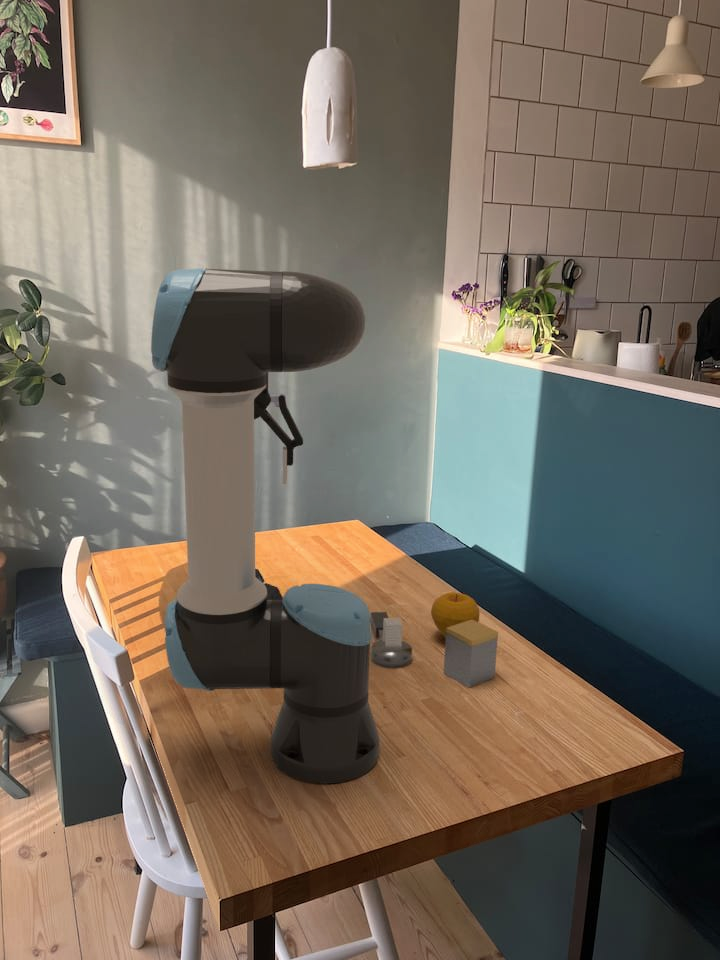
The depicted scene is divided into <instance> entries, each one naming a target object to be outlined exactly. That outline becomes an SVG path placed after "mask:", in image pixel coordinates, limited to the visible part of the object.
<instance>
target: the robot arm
mask: <svg viewBox="0 0 720 960" xmlns="http://www.w3.org/2000/svg"><path fill="white" fill-rule="evenodd" d="M365 326H366V316H365V311H364V307H363V305H362V303H361V301H360V300H359V298H358V297H357V296H356V295H355V294H354V293H353V292H352V291H351V290H350V289H348V288H347V287H346V286H344V285H342V284H340V283H338V282H335V281H333V280H330V279H327V278H323V277H321V276H318V275H314V274H309V273H304V272H299V271H286V270H283V271H272V270H271V271H270V270H269V271H267V270H248V269H247V270H246V269H245V270H244V269H242V270H241V269H225V268H224V269H222V268H220V269H218V268H217V269H216V268H207V267H202V268H190V269H189V268H187V269H175V270H172V271H170V272H168V273H167V274H166V275H165V276H164V277H163V279H162V281H161V283H160V286H159V288H158V292H157V296H156V300H155V305H154V312H153V319H152V328H151V343H150V344H151V345H150V346H151V347H150V351H151V352H150V353H151V363H152V366H153V368H154V369H156V370H158V371H160V372H165V371H166V374H167V386H168V389H169V390H170V391H172V392H173V394H175V395H176V397H178V398H179V400H180V401H181V416H182V417H181V420H182V442H183V443H182V444H183V445H182V446H183V466H184V467H183V469H184V470H183V471H184V473H183V474H184V495H185V496H184V498H185V499H184V500H185V501H184V503H185V504H184V505H185V524H186V525H185V526H186V551H187V552H186V553H187V554H186V555H187V580H186V581H185V582H184V583H183V584H181V586H180V587H179V588H178V590H177V593H176V599H174V600H171V601H170V602H169V603H168V605H167V606H166V610H165V617H164V632H165V637H164V640H165V641H164V642H165V643H164V644H165V650H166V651H165V652H166V657H167V664H168V667H169V670H170V674H171V676H172V678H173V680H174V681H175V682H176V684H178V685H179V686H180V687H182V688H184V689H190V690H192V689H193V690H206V691H208V692H213V691H215V690H250V689H251V690H256V689H258V690H260V689H264V690H265V689H267V690H268V689H270V690H272V689H283V698H282V699H283V700H282V703H281V706H280V709H279V712H278V715H277V718H276V720H275V723H274V726H273V729H272V732H271V735H270V758H271V761H272V762H273V764H274V765H275V766H276V768H277V769H279V771H281V772H282V773H283V774H286V775H287V776H289V777H290V778H294V779H297V780H299V781H303V782H307V783H314V784H335V783H336V784H337V783H342V782H347V781H351V780H353V779H356V778H359V777H361V776H363V775H364V774H365V775H366V773H368V772H369V771H370V770H371V769H373V767H374V766H375V765H376V763H377V761H379V757H380V735H379V730H378V728H377V723H376V722H375V719H374V715H373V712H372V709H371V705H370V702H369V689H370V687H369V686H370V654H371V653H370V647H371V646H370V645H371V642H372V640H373V634H372V631H371V623H370V616H371V612H370V609H369V607H368V605H367V603H366V602H365V601H364V600H363V599H362V598H361V597H359V596H358V595H356V594H355V593H353V592H351V591H350V590H347V589H344V588H342V587H337V586H334V585H329V584H322V583H303V584H301V585H294V586H291V587H289V588H288V589H287V590H286V591H285V593H284V594H283V595H282V597H283V600H267V588H266V586H265V585H264V583H262V582H261V581H260V580H259V579H257V578H256V577H255V569H256V527H255V526H256V523H255V522H256V519H255V518H256V516H255V515H256V509H255V508H256V507H255V506H256V505H255V503H256V502H255V497H256V496H255V494H256V492H255V490H256V489H255V486H256V485H255V420H256V419H259V418H261V419H262V420H263V422H265V424H267V426H268V427H269V428H270V429H271V430H272V432H273V433H274V434H275V435H276V436H277V437H278V438H279V440H280V441H281V442H282V444H283V445H284V446H283V447H282V485H287V484H288V466H293V464H294V449H295V448H296V447H299V446H303V445H304V439H303V436H302V434H301V432H300V430H299V428H298V426H297V424H296V422H295V420H294V418H293V415H292V413H291V412H290V410H289V408H288V405H287V399H286V394H285V393H280V394H278V395H277V394H276V395H270V392H269V373H295V372H304V371H311V370H314V369H317V368H318V369H319V368H322V367H325V366H327V365H330V364H333V363H336V362H337V361H339V360H340V361H341V360H342V359H343V358H345V357H347V356H348V355H349V354H350V353H352V352H353V351H354V350H355V349H356V348H357V346H358V345H359V343H360V342H361V341H362V339H363V335H364V333H365V328H366V327H365ZM271 403H273V404H274V405H275V407H276V408H279V411H280V413H281V415H282V416H283V419H284V421H285V423H286V425H287V427H288V429H289V431H290V433H291V435H292V437H293V439H292V438H290V436H289V435H288V433H286V431H284V429H283V428H282V427H281V426H280V424H279V423H278V421H276V420H275V418H273V416H272V414H271V413H270V412H269V411H268V410H267V408H268V407H269V406H270V404H271Z"/></svg>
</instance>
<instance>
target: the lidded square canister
mask: <svg viewBox="0 0 720 960" xmlns="http://www.w3.org/2000/svg"><path fill="white" fill-rule="evenodd" d="M498 637H499V631H497V630H495V629H493V628H490V626H486V625H484V624H482V623H480V622H476V621H474V620H469V621H466V622H463V623H460V624H456V625H453V626H450V627H447V628H446V638H445V641H444V642H445V643H444V644H445V645H444V659H443V661H444V662H443V674H444V675H446V676H448V677H449V678H451V679H454V680H455V681H457V683H460V684H462V685H464V686H465V687H467V688H468V689H469V688H473V687H475V686H477V685H480V684H482V683H484V682H487V681H490V680H492V679H495V677H496V665H497V651H498V640H499V639H498Z"/></svg>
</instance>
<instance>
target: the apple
mask: <svg viewBox="0 0 720 960" xmlns="http://www.w3.org/2000/svg"><path fill="white" fill-rule="evenodd" d="M430 615H431V618H432V620H433V623H434V624H435V627H436V628H437V629H438V631H439V633H440V634H441V636H443V637H444V639H446V628H447V627H450V626H453V625H456V624H460V623H463V622H466V621H469V620H474V621H476V622H478V623H480V609H479V607H478V603H477V602H476V600H475V599H473V598H472V597H470V596H469V595H467V594H464V593H460V592H455V591H453V592H452V591H451V592H447V593H446V592H445V593H444V594H442V595H440V596H439V597H437V598H436V599H435V600H434V602H433V604H432V607H431V609H430Z"/></svg>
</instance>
